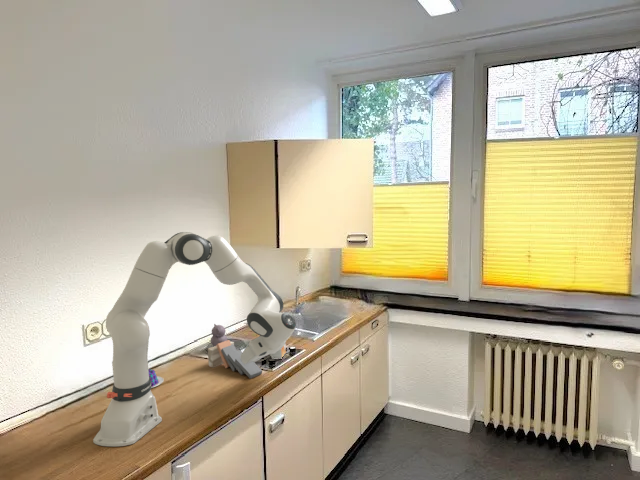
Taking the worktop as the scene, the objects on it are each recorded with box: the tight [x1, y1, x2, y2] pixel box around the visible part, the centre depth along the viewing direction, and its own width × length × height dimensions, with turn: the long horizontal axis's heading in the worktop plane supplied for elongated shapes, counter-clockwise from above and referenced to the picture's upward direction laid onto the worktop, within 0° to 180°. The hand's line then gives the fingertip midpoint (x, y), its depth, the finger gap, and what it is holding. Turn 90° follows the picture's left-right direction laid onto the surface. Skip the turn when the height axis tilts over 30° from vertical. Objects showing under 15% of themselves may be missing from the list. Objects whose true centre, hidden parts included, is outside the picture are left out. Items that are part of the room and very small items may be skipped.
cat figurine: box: [210, 323, 228, 347], centre depth 217 cm, size 8×8×12 cm
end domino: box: [216, 339, 231, 369], centre depth 198 cm, size 2×6×11 cm
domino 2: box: [227, 349, 246, 376], centre depth 193 cm, size 2×6×11 cm
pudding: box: [148, 368, 164, 389], centre depth 183 cm, size 12×12×5 cm
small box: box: [269, 343, 287, 360], centre depth 206 cm, size 8×6×10 cm
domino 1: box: [221, 344, 238, 372], centre depth 196 cm, size 2×6×11 cm
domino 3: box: [235, 357, 263, 379], centre depth 189 cm, size 2×6×11 cm
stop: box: [207, 340, 235, 368], centre depth 201 cm, size 3×12×8 cm, turn 138°
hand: (255, 359), depth 185 cm, fingers closed
